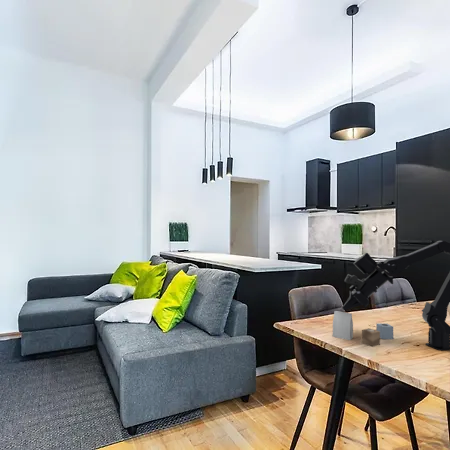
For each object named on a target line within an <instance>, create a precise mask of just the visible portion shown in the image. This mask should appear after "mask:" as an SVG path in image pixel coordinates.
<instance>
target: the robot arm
mask: <svg viewBox="0 0 450 450" xmlns="http://www.w3.org/2000/svg"><path fill="white" fill-rule="evenodd" d="M441 253H445V254H447V255H450V242H448V241H446V240H437V241H435V242H434V243H431V244H429V245H426V246H424V247H422V248H419V249H417V250H414V251H412V252H410V253H407V254H404V255H399V256H394V257H393V256H392V257H390V258H386V259H385V260H384V261H376V260H374V258H372V257H371V255H370V254H369V253H368V252H365V253H364V254H363V255H361V256H360V257H358V258H357V259H356V260H355V261H354V262H353V263H352V264H353V265H354V267H356V268H357V269H358V270H359V271H360V272H362V274H364V275H366V274H367V275H368V276H367V277H366V278H362V279H359V278H358V276H356V275H354V274H353V275H351V274H349V273H348V274H347V275H346V276H345V278H344V283H346V284H350V285H351V286H350V287H349V289H350V290H349V297H348V298H347V300H346V301H345V303H344V304H343V306H342V308H341V309H342V310H343V311H346V310H349V309H354V308H356V307H359V306H363V307H364V308H367V307H368V306H369V305H370V300H369V299H370V297H371V296H372V295H373V294H374V293H377V292H378V290H379V289H380V288H381V287H382V286H384V285H385V284H386V283H387V282H389V283H390V284H391V285H393V284H394V277H393V276H390V275H398V274H400V273H401V272H403V271H404V270H407V269H408V267H410V266H411V265H413V264H415V263H419V262H421V261H424V260H425V259H428V258H431V257H434V256H436V255H438V254H441ZM379 269H381V270H383V271H381V270H379ZM387 273H388V274H387ZM389 274H390V275H389ZM449 305H450V271H449V273H448V274H447V276H446V278H445V280H444V282H443V284H442V285H441V287H440V289H439V291H438V293H437V295H436V297H435V299H434V300H433V301H432V302H430V303H429V302H428V301H426V302H425V305H424V307H423V308H422V309H421V312H422V313H421V316H422V319H423V320H424V322H425V323H427V325H428V327H429V328H428V333H427V335H428V341H427V342H425V345H426V346H428V347H431V348H433V349H436V350H437V351H446V350H447V351H450V325H449V324H448V323H447V321H446V319H447V316H448V307H449Z"/></svg>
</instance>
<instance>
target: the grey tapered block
mask: <svg viewBox="0 0 450 450" xmlns="http://www.w3.org/2000/svg"><path fill="white" fill-rule="evenodd" d="M353 337H354V322H353V314H352V313H350V312H344V311H339V310H338V311H337V310H334V313H333V319H332V338H338V339H342V340H347V341H351V340H353Z"/></svg>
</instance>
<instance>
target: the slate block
mask: <svg viewBox="0 0 450 450" xmlns="http://www.w3.org/2000/svg"><path fill="white" fill-rule="evenodd" d="M375 330H377V331H380V340H394V326H393V325H391V324H388V323H376V329H375Z"/></svg>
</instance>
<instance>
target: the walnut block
mask: <svg viewBox="0 0 450 450" xmlns="http://www.w3.org/2000/svg"><path fill="white" fill-rule="evenodd" d="M361 344H363V345H365V346H369V347H376V346H379V345H380V344H381V338H380V331H377V330H376V329H373V328H365V329H361Z"/></svg>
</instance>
